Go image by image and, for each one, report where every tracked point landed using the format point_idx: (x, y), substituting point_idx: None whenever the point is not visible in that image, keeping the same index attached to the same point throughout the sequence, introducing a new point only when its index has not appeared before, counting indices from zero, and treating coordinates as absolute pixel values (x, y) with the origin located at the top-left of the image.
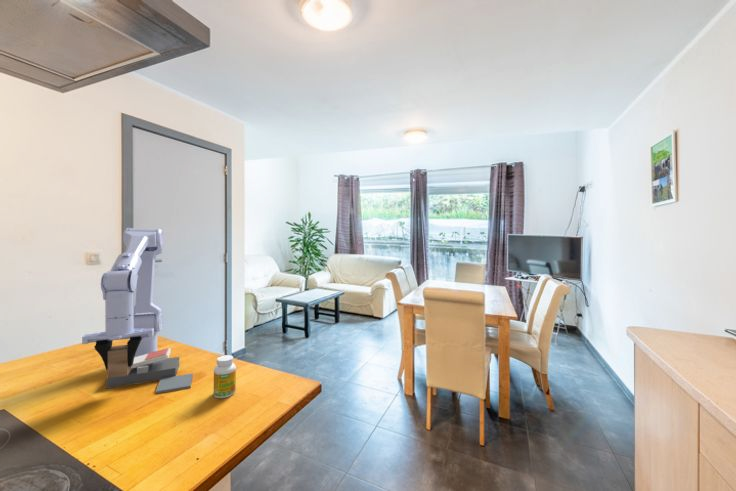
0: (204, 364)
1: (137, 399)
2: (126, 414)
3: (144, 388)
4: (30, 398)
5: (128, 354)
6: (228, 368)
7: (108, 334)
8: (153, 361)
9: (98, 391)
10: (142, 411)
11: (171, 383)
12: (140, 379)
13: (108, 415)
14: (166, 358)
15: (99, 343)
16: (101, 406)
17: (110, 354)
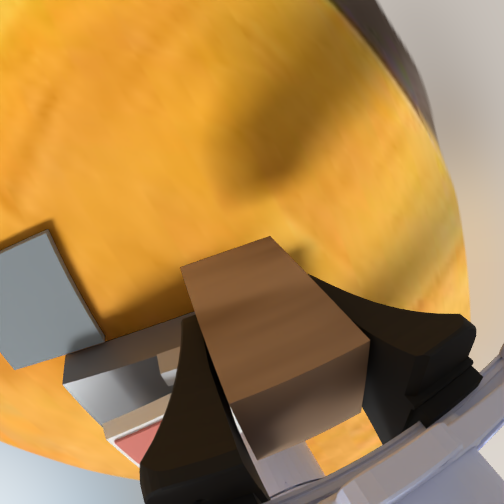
0: (42, 423)
1: (97, 182)
2: (77, 57)
3: (128, 276)
4: (434, 228)
5: (210, 371)
6: None
7: (474, 462)
8: (154, 405)
9: (297, 258)
10: (23, 80)
11: (29, 300)
12: (177, 327)
13: (151, 54)
14: (106, 423)
15: (457, 374)
16: (223, 135)
17: (336, 329)
